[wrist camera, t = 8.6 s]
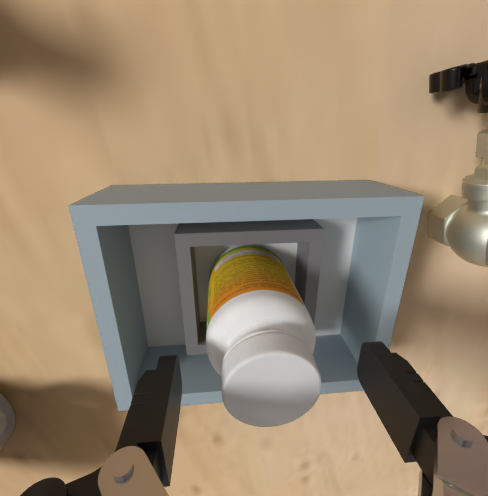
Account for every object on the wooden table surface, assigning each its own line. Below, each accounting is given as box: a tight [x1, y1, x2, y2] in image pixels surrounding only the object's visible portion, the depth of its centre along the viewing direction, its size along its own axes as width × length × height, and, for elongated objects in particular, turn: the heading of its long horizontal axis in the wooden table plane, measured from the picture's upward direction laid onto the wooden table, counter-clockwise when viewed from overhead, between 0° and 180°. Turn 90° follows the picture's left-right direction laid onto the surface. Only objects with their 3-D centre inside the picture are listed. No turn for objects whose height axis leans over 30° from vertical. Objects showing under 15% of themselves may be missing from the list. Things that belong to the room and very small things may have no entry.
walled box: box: [69, 180, 425, 411], centre depth 18 cm, size 13×17×6 cm
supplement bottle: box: [206, 244, 321, 427], centre depth 15 cm, size 5×5×10 cm
